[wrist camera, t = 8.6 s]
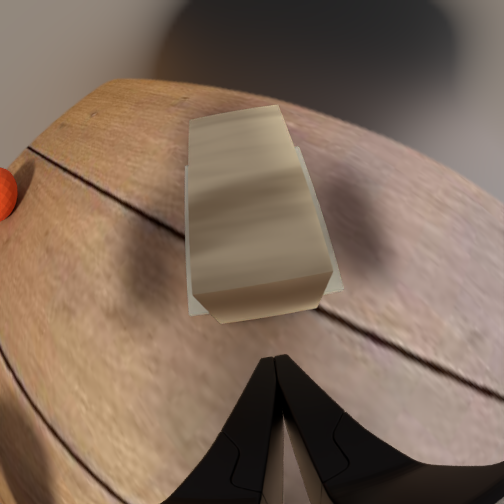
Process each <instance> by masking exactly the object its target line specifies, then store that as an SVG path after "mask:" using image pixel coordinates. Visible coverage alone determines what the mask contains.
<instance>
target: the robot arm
mask: <svg viewBox="0 0 504 504" xmlns="http://www.w3.org/2000/svg"><path fill="white" fill-rule="evenodd" d="M282 411H283V412H282ZM283 416H284V421H285V424H286V428H287V431H288V434H289V437H290V441H291V444H292V447H293V450H294V453H295V456H296V460H297V463H298V466H299V469H300V472H301V475H302V478H303V481H304V484H305V488H306V491H307V494H308V497H309V500H310V503H311V504H504V461H503V462H500V463H497V464H493V465H487V466H447V465H431V464H426V463H422V462H419V461H416V460H414V459H412V458H410V457H408V456H407V455H405V454H403V453H402V452H400V451H398V450H397V449H395V448H394V447H392V446H390V445H389V444H387V443H386V442H384V441H383V440H381V439H380V438H378V437H377V436H375V435H374V434H372V433H371V432H369V431H368V430H367V429H365V428H364V427H363V426H362V425H360V424H359V423H358V422H357V421H356V420H354V419H353V418H352V417H351V416H350V415H349V414H348V413H347V412H345V411H344V409H342V408H341V407H340V406H339V405H338V404H337V403H336V402H335V401H334V400H333V399H332V398H331V397H330V396H329V395H328V394H327V393H326V392H325V391H324V390H322V389H321V388H320V387H319V386H318V385H317V384H316V383H315V382H314V381H313V380H312V379H311V378H310V377H309V376H308V375H307V374H306V373H305V372H304V371H303V370H302V369H301V368H300V367H299V366H298V365H297V364H296V363H295V362H294V361H293V360H292V359H291V358H290V357H289V356H288V355H286V354H284V355H278V356H275V357H274V358H273V357H266V358H261V359H260V361H259V363H258V365H257V366H256V368H255V370H254V372H253V374H252V376H251V378H250V380H249V381H248V383H247V385H246V387H245V389H244V391H243V393H242V394H241V396H240V398H239V400H238V402H237V403H236V405H235V407H234V409H233V410H232V412H231V414H230V416H229V417H228V419H227V421H226V423H225V424H224V426H223V428H222V430H221V431H222V432H220V433H219V434H218V436H217V438H216V440H215V441H214V443H213V444H212V446H211V447H210V449H209V450H208V452H207V453H206V455H205V456H204V457H203V459H202V460H201V461H200V462H199V464H198V465H197V466H196V467H195V468H194V470H193V471H192V472H191V473H190V474H189V475H188V477H187V478H186V479H185V480H184V481H183V482H182V483H181V485H180V486H179V487H178V488H177V489H176V490H175V491H174V492H173V493H172V494H171V495H170V496H169V497H168V498H167V499H166V500H165V501H163V502H162V503H160V504H283V455H284V423H283Z"/></svg>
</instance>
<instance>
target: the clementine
mask: <svg viewBox="0 0 504 504" xmlns="http://www.w3.org/2000/svg"><path fill="white" fill-rule="evenodd" d="M17 195H18V193H17V184H16V181H15V179H14V177H13V176H12V174H11V173H10V172H9V171H8V170H6V169H3V168H0V221H2V220H4V219H5V218H7V217H8V216H9V215H10V213H11V212H12V210H13V209H14V207H15V204H16V200H17Z"/></svg>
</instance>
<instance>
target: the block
mask: <svg viewBox="0 0 504 504" xmlns="http://www.w3.org/2000/svg"><path fill="white" fill-rule="evenodd" d="M188 211H189V245H190V267H191V285H192V295H193V296H194V297H195V299H196V300H197V301H198V302H199V303H200V304H201V305H202V306H203V307H204V308H205V309H206V310H207V311H208V312H209V313H210V314H211V315H212V316H213V317H214V318H215V319H216V320H217V321H218V322H219V323H220V324H225V323H232V322H239V321H245V320H252V319H258V318H264V317H270V316H276V315H282V314H287V313H293V312H298V311H303V310H309V309H314V308H317V306H318V304H319V302H320V300H321V298H322V296H323V294H324V291H325V289H326V287H327V285H328V282H329V280H330V278H331V276H332V273H333V267H332V264H331V260H330V256H329V253H328V249H327V246H326V242H325V239H324V236H323V232H322V229H321V226H320V222H319V219H318V216H317V213H316V209H315V206H314V203H313V200H312V197H311V194H310V191H309V188H308V185H307V182H306V179H305V176H304V173H303V170H302V167H301V164H300V162H299V159H298V156H297V153H296V150H295V148H294V145H293V142H292V140H291V137H290V134H289V132H288V129H287V126H286V124H285V121H284V119H283V116H282V114H281V111H280V109H279V106H278V105H272V106H264V107H257V108H250V109H244V110H237V111H232V112H226V113H221V114H216V115H211V116H206V117H201V118H197V119H192V120H189V146H188Z"/></svg>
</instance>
